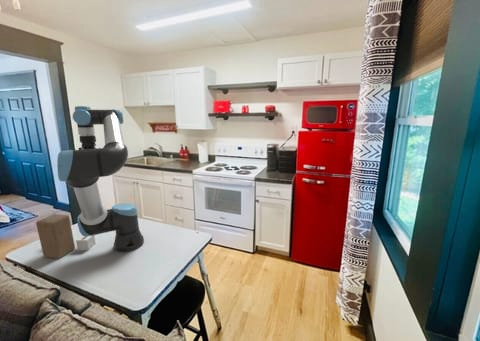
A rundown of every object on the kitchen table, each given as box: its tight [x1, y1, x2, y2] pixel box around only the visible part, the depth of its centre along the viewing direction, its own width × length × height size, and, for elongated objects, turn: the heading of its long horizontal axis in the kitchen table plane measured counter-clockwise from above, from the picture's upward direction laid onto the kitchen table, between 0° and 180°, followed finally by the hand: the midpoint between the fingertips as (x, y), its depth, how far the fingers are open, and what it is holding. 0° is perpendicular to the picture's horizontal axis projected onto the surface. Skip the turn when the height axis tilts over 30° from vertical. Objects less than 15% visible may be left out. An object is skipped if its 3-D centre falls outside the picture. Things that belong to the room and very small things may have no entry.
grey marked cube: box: [75, 234, 96, 251], centre depth 126 cm, size 6×6×6 cm
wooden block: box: [35, 213, 76, 260], centre depth 119 cm, size 10×10×20 cm
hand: (93, 176), depth 132 cm, fingers closed
